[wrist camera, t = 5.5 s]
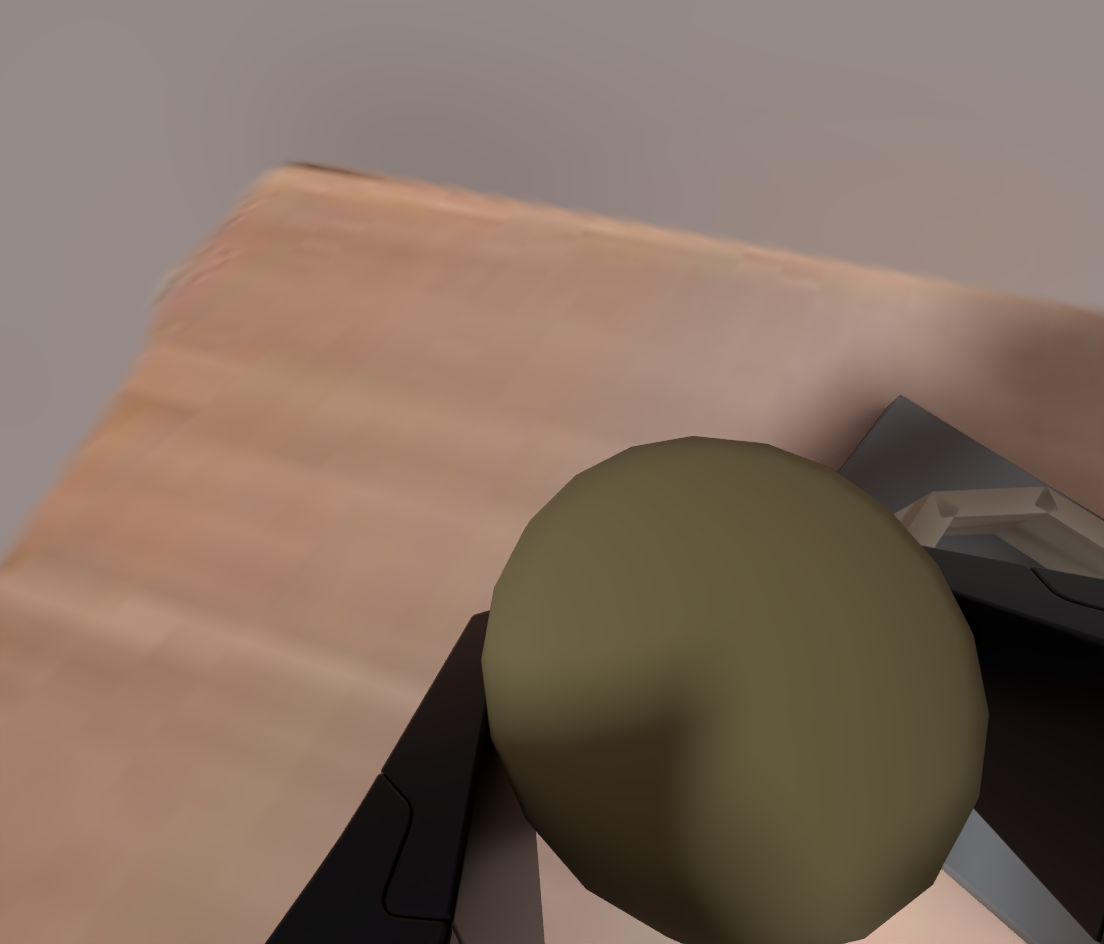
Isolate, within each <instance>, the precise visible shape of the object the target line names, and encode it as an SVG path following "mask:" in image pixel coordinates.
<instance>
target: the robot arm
mask: <svg viewBox="0 0 1104 944" xmlns="http://www.w3.org/2000/svg"><path fill="white" fill-rule="evenodd" d="M921 546H922V545H921ZM922 547H923V548H924V549H925V550H926V552H927V553H928V554H929V555H930V556H931V557H932V558H933V560H934V561H935V562H936V563H937V564H938V566H939V568H940V570H941V572H942V574H943V576H944V578H945V580H946V582H947V584H948V586H949V587H950V589H951V591H952V593H953V595H954V597H955V599H956V601H957V603H958V605H959V607H960V609H961V611H962V613H963V615H964V617H965V619H966V621H967V623H968V625H969V627H970V629H971V631H972V633H973V635H974V640H975V645H976V650H977V655H978V660H979V665H980V671H981V676H982V681H983V686H984V691H985V696H986V701H987V706H988V711H989V720H988V728H987V736H986V744H985V752H984V761H983V769H982V777H981V785H980V793H979V797H978V800H977V802H976V804H975V806H974V808H973V809H974V810H975V811H976V812H977V813H978V814H979V815H980V816H981V817H982V819H983V820H984V821H985V822H986V823H987V824H988V825H989V826H990V827H991V828H992V830H993V831H994V832H995V833H996V834H997V835H998V836H999V837H1000V838H1001V839H1002V840H1003V842H1004V843H1005V844H1006V845H1007V846H1008V847H1009V848H1010V849H1011V850H1012V851H1013V853H1014V854H1015V855H1016V856H1017V857H1018V858H1019V859H1020V860H1021V861H1022V862H1023V864H1024V865H1025V866H1026V867H1027V868H1028V869H1029V870H1030V871H1031V872H1032V873H1033V874H1034V876H1035V877H1036V878H1037V879H1038V880H1039V881H1040V882H1041V883H1042V884H1043V885H1044V887H1045V888H1046V889H1047V890H1048V891H1049V892H1050V893H1051V894H1052V895H1053V896H1054V898H1055V899H1056V900H1057V901H1058V902H1059V903H1060V904H1061V905H1062V906H1063V907H1064V908H1065V910H1066V911H1067V912H1068V913H1069V914H1070V915H1071V916H1072V917H1073V918H1074V919H1075V921H1076V922H1077V923H1078V924H1079V925H1080V926H1081V927H1082V928H1083V929H1084V930H1085V932H1086V933H1087V934H1088V935H1089V936H1090V937H1091V938H1092V939H1093V940H1094V941H1095V942H1097V943H1100V944H1104V579H1100V578H1094V577H1089V576H1083V575H1077V574H1072V573H1066V572H1061V571H1055V570H1050V569H1045V568H1040V567H1034V566H1033V567H1030V568H1029V567H1028V566H1026V565H1023V564H1018V563H1013V562H1007V561H1002V560H997V559H991V558H986V557H981V556H975V555H970V554H965V553H960V552H954V551H949V550H944V549H938V548H933V547H928V546H922ZM489 613H490V610H489V611H485V612H482V613H479V614H475V615H473V616H472V617H471V619H470V621H469V622H468V624H467V626H466V627H465V629H464V631H463V632H462V634H461V636H460V638H459V639H458V641H457V643H456V644H455V646H454V648H453V649H452V651H451V653H450V654H449V656H448V658H447V660H446V661H445V663H444V665H443V666H442V668H441V670H440V671H439V673H438V675H437V676H436V678H435V680H434V681H433V683H432V685H431V687H430V688H429V690H428V692H427V693H426V695H425V697H424V698H423V700H422V702H421V703H420V705H419V707H418V708H417V710H416V712H415V714H414V715H413V717H412V719H411V720H410V722H409V724H408V725H407V727H406V729H405V730H404V732H403V734H402V736H401V737H400V739H399V741H398V742H397V744H396V746H395V747H394V749H393V751H392V752H391V754H390V756H389V757H388V759H387V761H386V763H385V764H384V766H383V768H382V769H381V773H382V774H379V775H378V776H377V777H376V779H375V781H374V782H373V784H372V786H371V787H370V789H369V791H368V793H367V794H366V796H365V798H364V799H363V801H362V802H361V804H360V806H359V807H358V809H357V810H356V812H355V814H354V815H353V817H352V818H351V820H350V822H349V823H348V825H347V826H346V828H345V830H344V831H343V833H342V834H341V836H340V837H339V839H338V840H337V842H336V843H335V845H334V846H333V848H332V849H331V850H330V852H329V853H328V855H327V856H326V858H325V859H324V861H323V862H322V864H321V865H320V866H319V868H318V869H317V871H316V872H315V874H314V875H313V877H312V878H311V880H310V881H309V882H308V884H307V885H306V887H305V888H304V889H303V891H302V892H301V894H300V895H299V896H298V898H297V899H296V901H295V902H294V903H293V905H292V906H291V908H290V909H289V910H288V912H287V913H286V915H285V916H284V917H283V919H282V920H281V922H280V923H279V924H278V926H277V927H276V929H275V930H274V931H273V933H272V934H271V936H270V937H269V938H268V940H267V941H266V943H265V944H545V941H544V929H543V916H542V903H541V891H540V878H539V865H538V853H537V840H536V830H535V829H534V828H533V827H532V826H531V825H530V824H529V822H528V821H527V820H526V818H525V816H524V814H523V811H522V809H521V807H520V805H519V802H518V800H517V798H516V795H515V793H514V791H513V789H512V786H511V784H510V782H509V780H508V777H507V775H506V773H505V770H504V768H503V766H502V764H501V761H500V759H499V757H498V754H497V752H496V750H495V748H494V745H493V743H492V741H491V736H490V728H489V719H488V711H487V703H486V695H485V686H484V678H483V670H482V662H481V659H482V653H483V647H484V642H485V636H486V630H487V625H488V619H489Z"/></svg>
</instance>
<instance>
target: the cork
mask: <svg viewBox="0 0 1104 944" xmlns="http://www.w3.org/2000/svg"><path fill="white" fill-rule="evenodd" d="M481 662H482V670H483V678H484V686H485V695H486V703H487V711H488V719H489V728H490V736H491V741H492V743H493V745H494V748H495V750H496V752H497V754H498V757H499V759H500V761H501V764H502V766H503V768H504V770H505V773H506V775H507V777H508V780H509V782H510V784H511V786H512V789H513V791H514V793H515V795H516V798H517V800H518V802H519V805H520V807H521V809H522V811H523V814H524V816H525V818H526V820H527V821H528V822H529V824H530V825H531V826H532V827H533V828H534V829H535V830H536V832H537V833H538V834H539V835H540V836H541V837H542V839H543V840H544V841H545V842H546V843H547V844H548V845H549V847H550V848H551V849H552V850H553V851H554V852H555V854H556V855H557V856H558V857H559V858H560V859H561V860H562V862H563V863H564V864H565V865H566V866H567V867H568V869H569V870H570V871H571V872H572V873H573V874H574V875H575V877H576V878H577V879H578V880H579V881H580V882H581V884H582V885H583V886H584V887H585V888H586V889H587V890H589V891H590V892H592V893H594V894H595V895H597V896H599V897H600V898H602V899H604V900H605V901H607V902H609V903H611V904H612V905H614V906H616V907H617V908H619V909H621V910H622V911H624V912H626V913H627V914H629V915H631V916H633V917H634V918H636V919H638V920H639V921H641V922H643V923H644V924H646V925H648V926H650V927H651V928H653V929H655V930H656V931H658V932H660V933H661V934H663V935H665V936H666V937H669V938H671V939H673V940H675V941H678V942H680V943H683V944H844V943H848V942H852V941H857V940H861V939H864V938H866V937H867V936H868V935H869V934H871V933H872V932H873V931H874V930H876V929H877V928H878V927H880V926H881V925H882V924H883V923H885V922H886V921H887V920H888V919H890V918H891V917H892V916H894V915H895V914H896V913H897V912H899V911H900V910H901V909H903V908H904V907H905V906H906V905H908V904H909V903H910V902H911V901H913V900H914V899H915V898H917V897H918V896H919V895H920V894H922V893H923V892H924V891H925V890H927V889H928V888H929V887H931V886H932V885H933V883H934V882H935V880H936V878H937V876H938V874H939V872H940V870H941V868H942V867H943V865H944V863H945V861H946V859H947V857H948V855H949V853H950V852H951V850H952V848H953V846H954V844H955V842H956V840H957V838H958V837H959V835H960V833H961V831H962V829H963V827H964V825H965V823H966V822H967V820H968V818H969V816H970V814H971V812H972V810H973V808H974V806H975V804H976V802H977V800H978V797H979V793H980V785H981V777H982V769H983V761H984V752H985V744H986V736H987V728H988V720H989V711H988V706H987V701H986V696H985V691H984V686H983V681H982V676H981V671H980V665H979V660H978V655H977V650H976V645H975V640H974V635H973V633H972V631H971V629H970V627H969V625H968V623H967V621H966V619H965V617H964V615H963V613H962V611H961V609H960V607H959V605H958V603H957V601H956V599H955V597H954V595H953V593H952V591H951V589H950V587H949V586H948V584H947V582H946V580H945V578H944V576H943V574H942V572H941V570H940V568H939V566H938V564H937V563H936V562H935V561H934V560H933V558H932V557H931V556H930V555H929V554H928V553H927V552H926V550H925V549H924V548H923V547H922V546H921V545H920V544H919V542H918V541H917V540H916V539H915V538H914V537H913V536H912V535H911V533H910V532H909V531H908V530H907V529H906V528H905V527H904V525H903V524H902V523H901V522H900V521H899V520H898V519H897V517H896V516H895V515H894V514H893V513H892V512H891V511H890V509H889V508H887V507H886V506H885V505H883V504H882V503H880V502H879V501H877V500H876V499H874V498H873V497H872V496H870V495H869V494H867V493H866V492H864V491H863V490H862V489H860V488H859V487H857V486H856V485H854V484H853V483H851V482H850V481H849V480H847V479H846V478H844V477H843V476H841V475H840V474H838V473H837V472H836V471H834V470H833V469H831V468H830V467H827V466H824V465H822V464H819V463H816V462H814V461H811V460H808V459H806V458H803V457H800V456H798V455H795V454H792V453H790V452H787V451H784V450H782V449H779V448H777V447H774V446H771V445H769V444H763V443H756V442H746V441H736V440H726V439H716V438H706V437H697V436H690V437H685V438H679V439H673V440H668V441H662V442H656V443H651V444H645V445H640V446H634V447H630V448H628V449H626V450H624V451H622V452H620V453H618V454H616V455H614V456H613V457H611V458H609V459H607V460H605V461H603V462H601V463H599V464H597V465H595V466H593V467H591V468H589V469H587V470H585V471H583V472H581V473H579V474H577V475H576V476H575V477H574V478H573V479H572V480H571V481H570V482H569V483H568V484H566V485H565V486H564V487H563V488H562V489H561V490H560V491H559V492H558V493H557V494H556V495H555V496H554V497H553V498H552V499H551V500H550V501H549V502H548V503H547V504H546V505H545V506H544V507H543V508H542V509H541V510H540V511H539V512H538V513H537V514H536V515H535V516H534V517H533V518H532V519H531V520H530V522H529V523H528V525H527V526H526V528H525V529H524V531H523V533H522V535H521V537H520V539H519V541H518V543H517V545H516V547H515V549H514V550H513V552H512V554H511V556H510V558H509V560H508V562H507V564H506V566H505V568H504V570H503V572H502V574H501V576H500V577H499V579H498V581H497V583H496V585H495V587H494V591H493V596H492V602H491V608H490V613H489V619H488V625H487V630H486V636H485V642H484V647H483V653H482V659H481Z"/></svg>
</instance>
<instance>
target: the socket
mask: <svg viewBox="0 0 1104 944" xmlns="http://www.w3.org/2000/svg"><path fill="white" fill-rule="evenodd" d="M838 474H840V475H841V476H843V477H844V478H846V479H847V480H849V481H850V482H851V483H853V484H854V485H856V486H857V487H859V488H860V489H862V490H863V491H864V492H866V493H867V494H869V495H870V496H872V497H873V498H874V499H876V500H877V501H879V502H880V503H882V504H883V505H885V506H886V507H887V508H889V509H890V511H891V512H892V513H893V514H894V515H895V516H896V517H897V519H898V520H899V521H900V522H901V523H902V524H903V525H904V527H905V528H906V529H907V530H908V531H909V532H910V533H911V535H912V536H913V537H914V538H915V539H916V540H917V541H918V542H919V544H920V545H922V546H928V547H933V548H938V549H944V550H949V551H954V552H960V553H965V554H970V555H975V556H981V557H986V558H991V559H997V560H1002V561H1007V562H1013V563H1018V564H1023V565H1026V566H1028V567H1029V568H1030V567H1033V566H1034V567H1040V568H1045V569H1050V570H1055V571H1061V572H1066V573H1072V574H1077V575H1083V576H1089V577H1094V578H1100V579H1104V519H1103V518H1101V517H1099V516H1098V515H1096V514H1094V513H1093V512H1091V511H1089V510H1088V509H1086V508H1085V507H1083V506H1081V505H1080V504H1078V503H1076V502H1075V501H1073V500H1071V499H1070V498H1068V497H1067V496H1065V495H1063V494H1062V493H1060V492H1058V491H1057V490H1055V489H1053V488H1052V487H1050V486H1049V485H1047V484H1045V483H1044V482H1042V481H1040V480H1039V479H1037V478H1035V477H1034V476H1032V475H1030V474H1029V473H1027V472H1026V471H1024V470H1022V469H1021V468H1019V467H1017V466H1016V465H1014V464H1012V463H1011V462H1009V461H1008V460H1006V459H1004V458H1003V457H1001V456H999V455H998V454H996V453H994V452H993V451H991V450H990V449H988V448H986V447H985V446H983V445H981V444H980V443H978V442H976V441H975V440H973V439H971V438H970V437H968V436H967V435H965V434H963V433H962V432H960V431H958V430H957V429H955V428H953V427H952V426H950V425H949V424H947V423H945V422H944V421H942V420H940V419H939V418H937V417H935V416H934V415H932V414H930V413H929V412H927V411H926V410H924V409H922V408H921V407H919V406H917V405H916V404H914V403H912V402H911V401H909V400H908V399H906V398H904V397H903V396H901V395H900V396H899V397H898V398H897V399H895V400H894V401H893V402H892V403H891V404H890V405H889V406H888V407H887V408H886V410H885V411H884V412H883V414H882V415H881V416H880V417H879V419H878V420H877V421H876V423H875V424H874V425H873V427H872V428H871V429H870V431H869V432H868V433H867V434H866V436H865V437H864V438H863V440H862V441H861V442H860V444H859V445H858V446H857V448H856V449H855V450H854V452H853V453H852V454H851V455H850V457H849V458H848V459H847V461H846V462H845V463H844V465H843V466H842V467H841V469H840V470H839V471H838ZM941 869H943V870H944V871H945V872H946V873H947V874H948V875H949V876H951V877H952V878H953V879H954V880H955V881H956V882H957V883H959V884H960V885H961V886H962V887H963V888H964V889H965V890H967V891H968V892H969V893H970V894H971V895H972V896H973V897H975V898H976V899H977V900H978V901H979V902H980V903H982V904H983V905H984V906H985V907H986V908H987V909H988V910H990V911H991V912H992V913H993V914H994V915H995V916H996V917H998V918H999V919H1000V920H1001V921H1002V922H1003V923H1004V924H1006V925H1007V926H1008V927H1009V928H1010V929H1011V930H1012V931H1014V932H1015V933H1016V934H1017V935H1018V936H1019V937H1021V938H1022V939H1023V940H1024V941H1025V942H1026V943H1027V944H1100V943H1097V942H1095V941H1094V940H1093V939H1092V938H1091V937H1090V936H1089V935H1088V934H1087V933H1086V932H1085V930H1084V929H1083V928H1082V927H1081V926H1080V925H1079V924H1078V923H1077V922H1076V921H1075V919H1074V918H1073V917H1072V916H1071V915H1070V914H1069V913H1068V912H1067V911H1066V910H1065V908H1064V907H1063V906H1062V905H1061V904H1060V903H1059V902H1058V901H1057V900H1056V899H1055V898H1054V896H1053V895H1052V894H1051V893H1050V892H1049V891H1048V890H1047V889H1046V888H1045V887H1044V885H1043V884H1042V883H1041V882H1040V881H1039V880H1038V879H1037V878H1036V877H1035V876H1034V874H1033V873H1032V872H1031V871H1030V870H1029V869H1028V868H1027V867H1026V866H1025V865H1024V864H1023V862H1022V861H1021V860H1020V859H1019V858H1018V857H1017V856H1016V855H1015V854H1014V853H1013V851H1012V850H1011V849H1010V848H1009V847H1008V846H1007V845H1006V844H1005V843H1004V842H1003V840H1002V839H1001V838H1000V837H999V836H998V835H997V834H996V833H995V832H994V831H993V830H992V828H991V827H990V826H989V825H988V824H987V823H986V822H985V821H984V820H983V819H982V817H981V816H980V815H979V814H978V813H977V812H976V811H975V810H974V809H973V810H972V812H971V814H970V816H969V818H968V820H967V822H966V823H965V825H964V827H963V829H962V831H961V833H960V835H959V837H958V838H957V840H956V842H955V844H954V846H953V848H952V850H951V852H950V853H949V855H948V857H947V859H946V861H945V863H944V865H943V867H942V868H941Z"/></svg>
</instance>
